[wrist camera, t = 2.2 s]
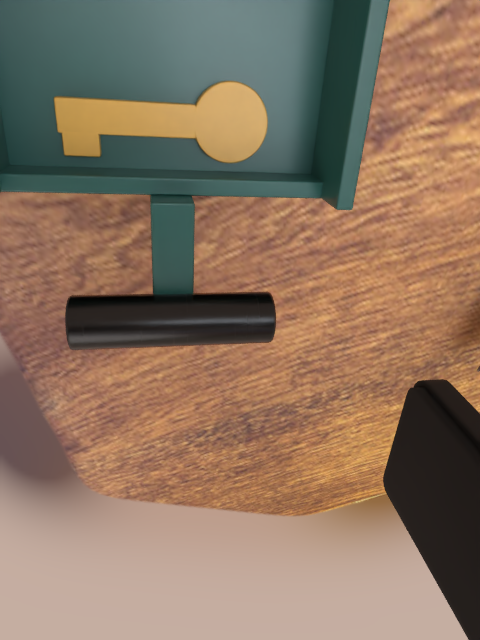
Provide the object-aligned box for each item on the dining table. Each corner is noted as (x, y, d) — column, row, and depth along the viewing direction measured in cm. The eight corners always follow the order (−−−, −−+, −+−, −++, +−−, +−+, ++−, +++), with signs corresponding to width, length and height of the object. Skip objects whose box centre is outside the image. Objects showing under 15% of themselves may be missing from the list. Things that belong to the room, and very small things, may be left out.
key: (268, 83, 13) (271, 83, 13) (261, 162, 14) (264, 164, 14) (52, 68, 12) (49, 68, 12) (62, 155, 13) (60, 157, 13)
